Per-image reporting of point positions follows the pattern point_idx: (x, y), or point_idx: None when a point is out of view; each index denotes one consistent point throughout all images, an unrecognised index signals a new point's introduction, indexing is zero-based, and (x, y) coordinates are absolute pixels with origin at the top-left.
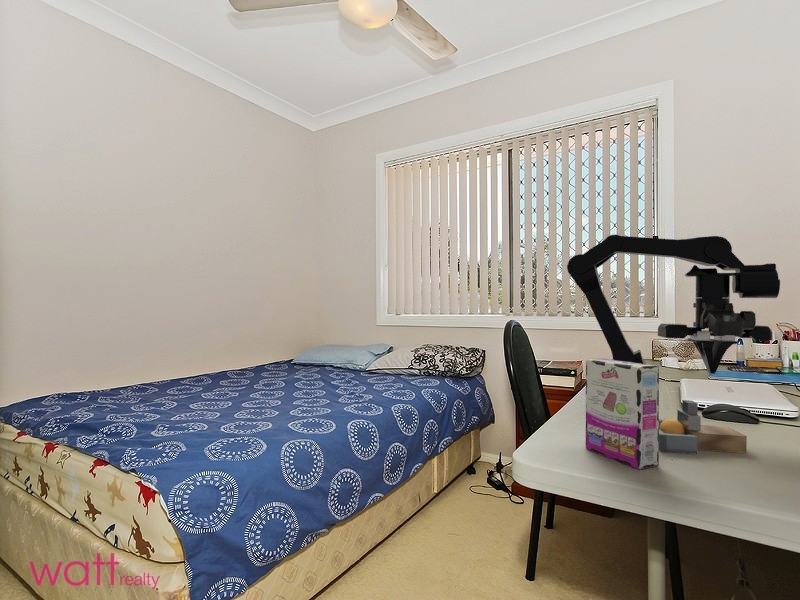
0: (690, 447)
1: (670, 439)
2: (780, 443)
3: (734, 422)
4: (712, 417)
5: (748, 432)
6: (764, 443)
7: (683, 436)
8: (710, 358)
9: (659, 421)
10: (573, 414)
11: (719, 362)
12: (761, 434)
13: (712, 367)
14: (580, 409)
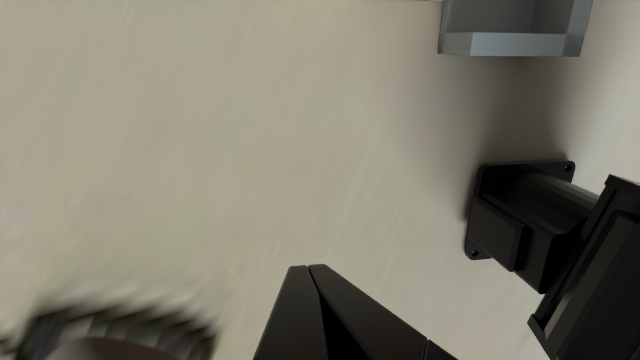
0: None
1: None
2: (48, 29)
3: (124, 301)
4: (183, 344)
5: (124, 171)
6: (121, 13)
7: None
8: (391, 337)
9: (521, 34)
10: None
11: (273, 325)
12: (80, 154)
13: (326, 289)
14: None
